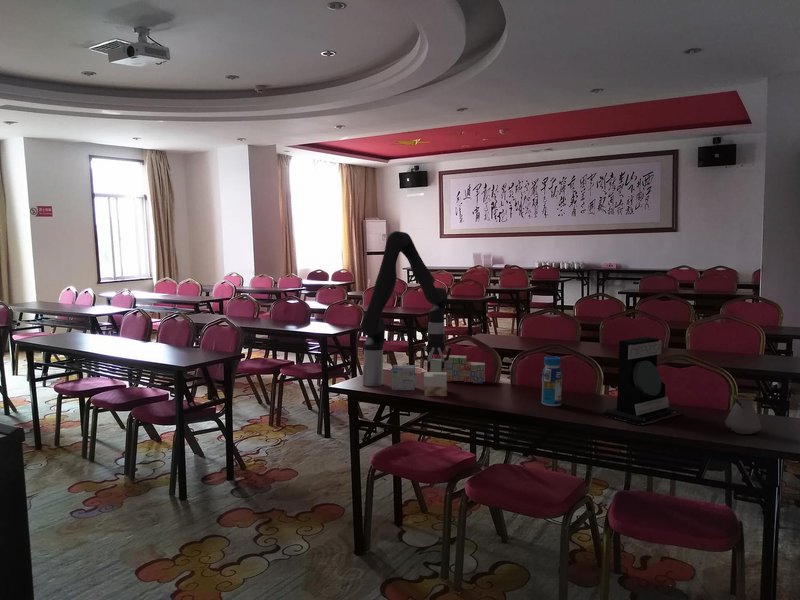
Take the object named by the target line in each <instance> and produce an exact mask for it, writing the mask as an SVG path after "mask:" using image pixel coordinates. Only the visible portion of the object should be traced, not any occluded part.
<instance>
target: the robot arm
mask: <svg viewBox="0 0 800 600" xmlns="http://www.w3.org/2000/svg"><path fill="white" fill-rule="evenodd" d="M400 253H402V254H403V256H404V257H405V258H406V259H407V261H408V263H409V265H410V269H411V272H412V275H413V277H414V278H415V280H416V281H417V283H418V284H419V285H420V288H421V290H422V293H423V296H424V298H425V299H426V301H427V302H428V303H430V304H432V308H431V309H429V311H428V324H427V344H426V345H425V346H422V345H421V348H420V350H421V354H422V355H421V356H422V358H423V360H424V361H426V362H427V369H428V370H429V371H430V359H432V357H433V355H437V356H438V355H439V357H440V359H441V360H442V363H441V370H443V369H444V362H445V361H446V360H448V359H449V355H450V354H451V352H452V351H451V350H452V347H451V346H446V344H445V343H446V342H445V337H446V336H445V335H446V334H445V332H446V327H445V312H446V308H447V303H448V293H447V291H446V289H445V288H443V287H436V285H435V280H436V279H435V277H434V276H433V274H432V273H431V271H430V270H429V268H427V266H426V264H425V262H424V261H423V259H422V258H421V255H420V253H419V252H418V250H417V248H416V246H415V243H414V241H413V239H412V237H411V236H410V234H408V233H407V232H404V231H399V230H398V231H397V230H394V231H391V233H389V235H388V236H387V238H386V242H385V246H384V252H383V257H382V261H381V263H380V268H379V271H378V274H377V277H376V280H375V283H374V287H373V290H372V293H371V297H370V301H369V304H368V307H367V309H366V311H365V314H364V316H363V318H362V320H361V326H360V328H361V332H362V333H363V335H364V336H366V340H365V342H364V343H363V365H362V386H366V387H380V386H382V385H383V384H384V383H383V382H384V367H383V366H384V356H383V355H384V344H385V337H386V336H385V335H386V331H385V330H386V326H385V324H386V323H385V320H384V318H383V317H382V313H383V311H384V308H385V307H386V306H387V304H388V302H389V301H390V299H391V297H392V295H393V293H394V290H395V288H396V283H397V280H398V279H397V278H398V277H397V262H398V258H399V255H400ZM427 350H428V351H429V354H428V356H427V354H426V351H427ZM445 350H446V354H445V355H446V357H445V358H444V357H443V355H444V353H443V352H444V351H445Z"/></svg>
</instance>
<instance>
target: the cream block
mask: <svg viewBox="0 0 800 600" xmlns="http://www.w3.org/2000/svg"><path fill="white" fill-rule="evenodd" d="M446 384H447V385H448V381H447V372H430V371H424V375H423V387H425V386H426V387H446Z"/></svg>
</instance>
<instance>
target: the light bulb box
mask: <svg viewBox="0 0 800 600" xmlns="http://www.w3.org/2000/svg"><path fill="white" fill-rule="evenodd" d="M415 389H416V365H415V364H413V365H412V364H409V365H408V364H393V365H392V367H391V390H392V391H415Z"/></svg>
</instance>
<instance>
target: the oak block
mask: <svg viewBox="0 0 800 600" xmlns="http://www.w3.org/2000/svg"><path fill="white" fill-rule="evenodd" d="M424 396H427V397H431V396H432V397H448V383H447V384H446V387H426V386H424Z"/></svg>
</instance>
